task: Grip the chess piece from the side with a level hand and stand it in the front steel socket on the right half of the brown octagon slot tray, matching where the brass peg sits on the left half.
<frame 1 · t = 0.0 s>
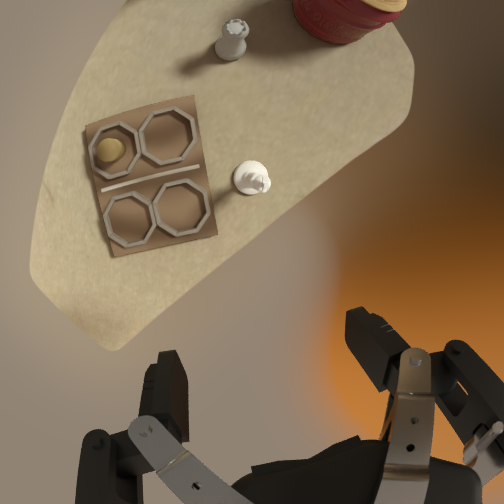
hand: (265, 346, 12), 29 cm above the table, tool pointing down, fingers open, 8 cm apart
rook chess piece: (229, 49, 31), on the table
canister: (327, 15, 30), on the table
brown octagon slot tray: (150, 176, 35), on the table
chess piece: (250, 177, 38), on the table
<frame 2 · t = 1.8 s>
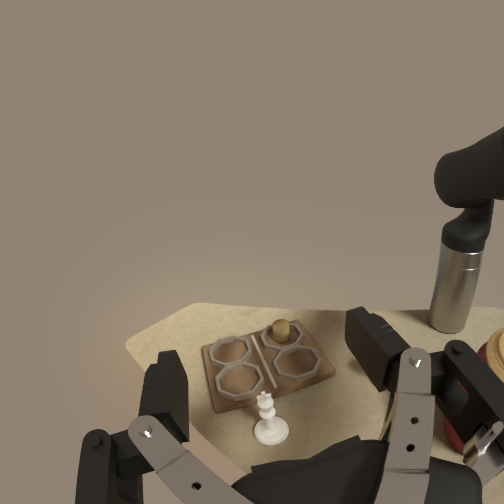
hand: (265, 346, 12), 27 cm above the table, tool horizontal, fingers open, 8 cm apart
canister: (477, 423, 22), on the table
brown octagon slot tray: (263, 364, 45), on the table
chess piece: (271, 432, 32), on the table
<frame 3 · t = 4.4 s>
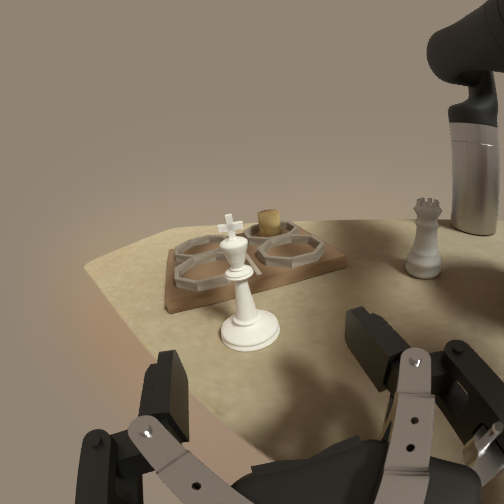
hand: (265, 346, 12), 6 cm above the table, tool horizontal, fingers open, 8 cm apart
rook chess piece: (422, 272, 26), on the table
brown octagon slot tray: (245, 262, 35), on the table
chess piece: (250, 333, 22), on the table
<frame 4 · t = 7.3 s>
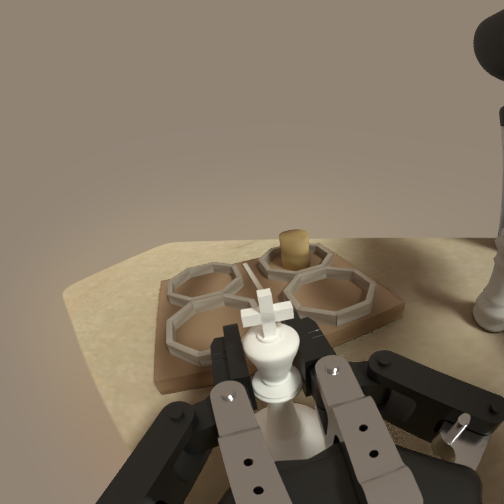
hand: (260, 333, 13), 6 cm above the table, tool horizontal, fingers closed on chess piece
rook chess piece: (490, 321, 16), on the table
brown octagon slot tray: (264, 306, 26), on the table
chess piece: (285, 441, 12), on the table, touching gripper
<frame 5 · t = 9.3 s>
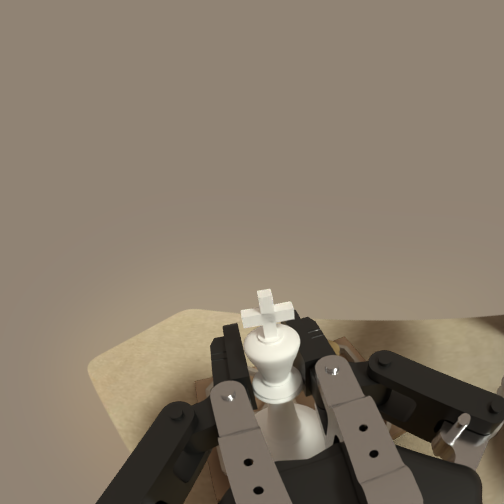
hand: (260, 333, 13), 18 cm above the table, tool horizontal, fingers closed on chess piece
rook chess piece: (483, 426, 15), on the table
brown octagon slot tray: (297, 415, 25), on the table
chess piece: (285, 442, 12), point 11 cm above the table, touching gripper
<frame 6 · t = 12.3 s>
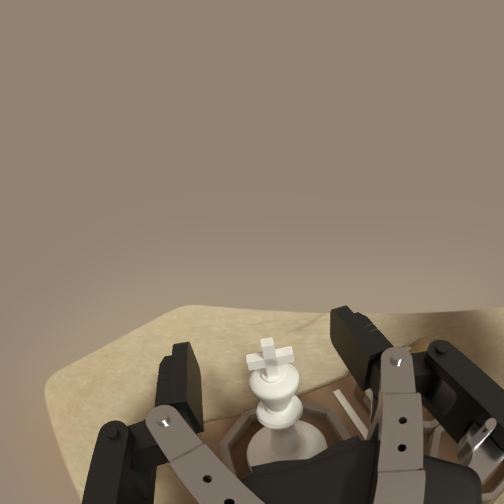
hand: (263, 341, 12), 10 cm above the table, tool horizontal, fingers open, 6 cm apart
brown octagon slot tray: (380, 471, 11), on the table
chess piece: (287, 455, 13), point 1 cm above the table, touching brown octagon slot tray
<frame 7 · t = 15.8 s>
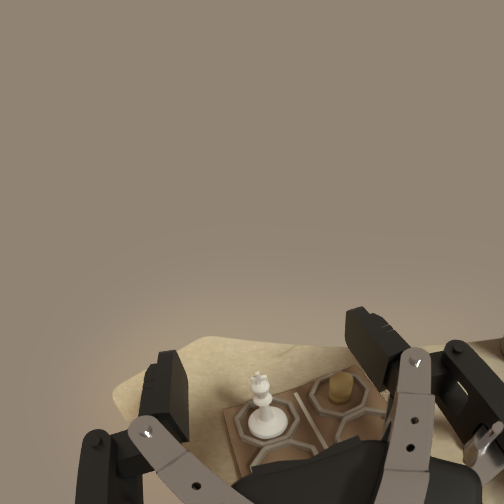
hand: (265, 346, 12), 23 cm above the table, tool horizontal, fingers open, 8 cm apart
brown octagon slot tray: (316, 437, 27), on the table
chess piece: (268, 424, 29), point 1 cm above the table, touching brown octagon slot tray
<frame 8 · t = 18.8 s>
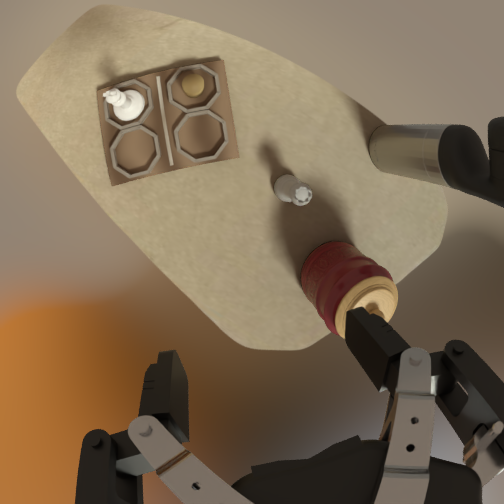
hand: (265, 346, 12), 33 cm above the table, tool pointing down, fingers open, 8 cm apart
rook chess piece: (286, 187, 43), on the table
canister: (330, 271, 50), on the table
brown octagon slot tray: (165, 120, 36), on the table
chess piece: (129, 105, 33), point 1 cm above the table, touching brown octagon slot tray
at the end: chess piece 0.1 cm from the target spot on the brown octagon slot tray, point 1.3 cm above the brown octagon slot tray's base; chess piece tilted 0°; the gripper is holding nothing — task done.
